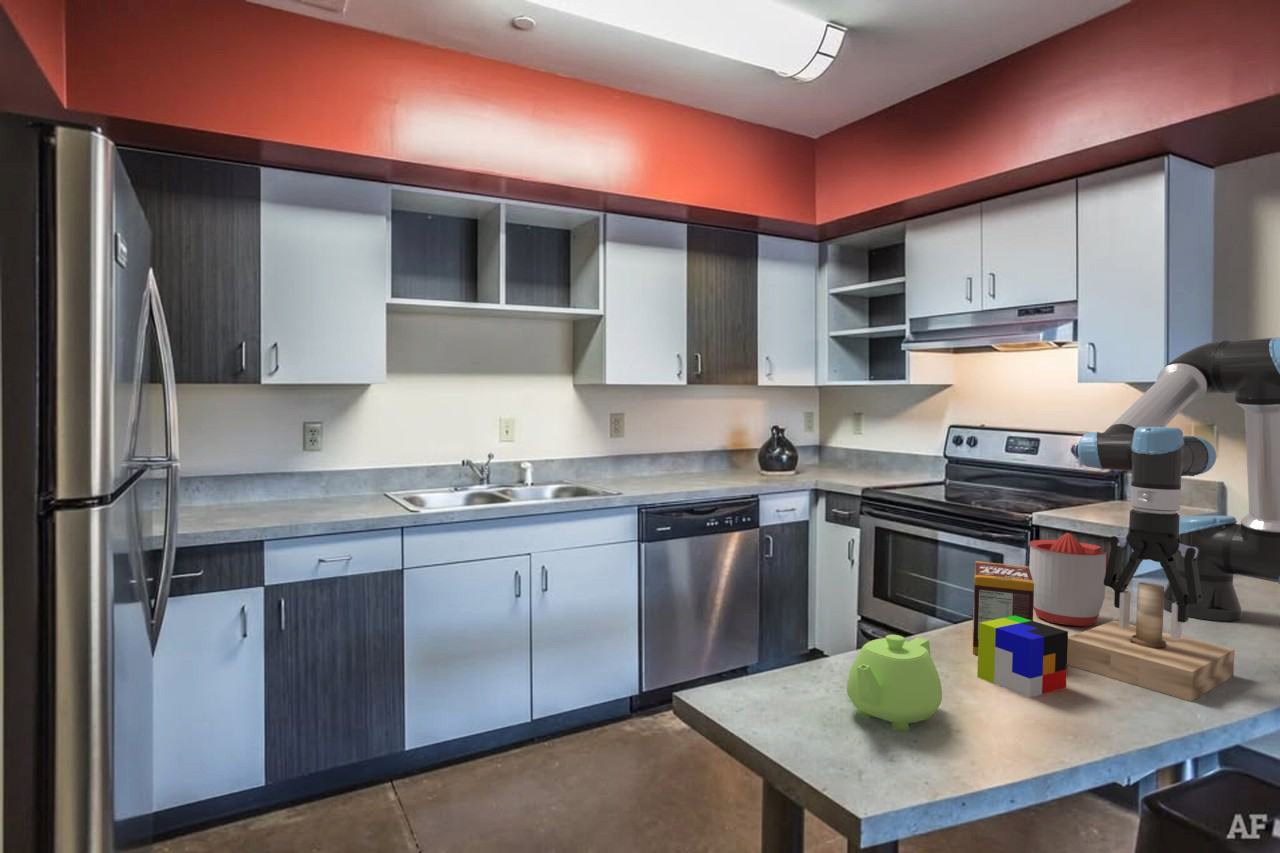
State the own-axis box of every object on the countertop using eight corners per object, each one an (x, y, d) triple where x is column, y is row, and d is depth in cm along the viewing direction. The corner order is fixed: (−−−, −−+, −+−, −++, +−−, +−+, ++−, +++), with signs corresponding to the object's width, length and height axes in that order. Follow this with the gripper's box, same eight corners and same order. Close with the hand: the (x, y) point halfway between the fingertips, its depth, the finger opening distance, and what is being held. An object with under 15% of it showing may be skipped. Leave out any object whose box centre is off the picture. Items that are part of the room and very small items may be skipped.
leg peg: (1137, 662, 138) (1141, 580, 137) (1169, 671, 134) (1173, 586, 133) (1125, 668, 135) (1129, 583, 134) (1157, 677, 131) (1161, 590, 130)
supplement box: (1026, 639, 151) (1029, 565, 150) (1032, 663, 137) (1035, 582, 136) (972, 631, 155) (974, 560, 155) (972, 654, 141) (974, 576, 141)
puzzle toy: (1029, 698, 121) (1031, 639, 121) (977, 677, 130) (979, 622, 130) (1065, 687, 126) (1068, 631, 125) (1013, 668, 135) (1015, 615, 134)
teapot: (898, 751, 102) (900, 664, 101) (818, 718, 112) (820, 638, 112) (964, 713, 115) (967, 635, 114) (888, 686, 125) (890, 614, 125)
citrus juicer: (1123, 635, 154) (1127, 542, 153) (1032, 625, 160) (1035, 536, 159) (1104, 615, 169) (1107, 530, 168) (1021, 606, 175) (1024, 524, 174)
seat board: (1112, 644, 148) (1113, 620, 148) (1233, 676, 132) (1234, 649, 132) (1064, 663, 137) (1065, 637, 137) (1190, 701, 120) (1192, 671, 120)
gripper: (1085, 504, 139) (1080, 620, 140) (1215, 520, 122) (1208, 652, 123) (1102, 501, 144) (1098, 614, 145) (1230, 516, 127) (1224, 644, 128)
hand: (1149, 631), depth 134 cm, fingers open, 8 cm apart
